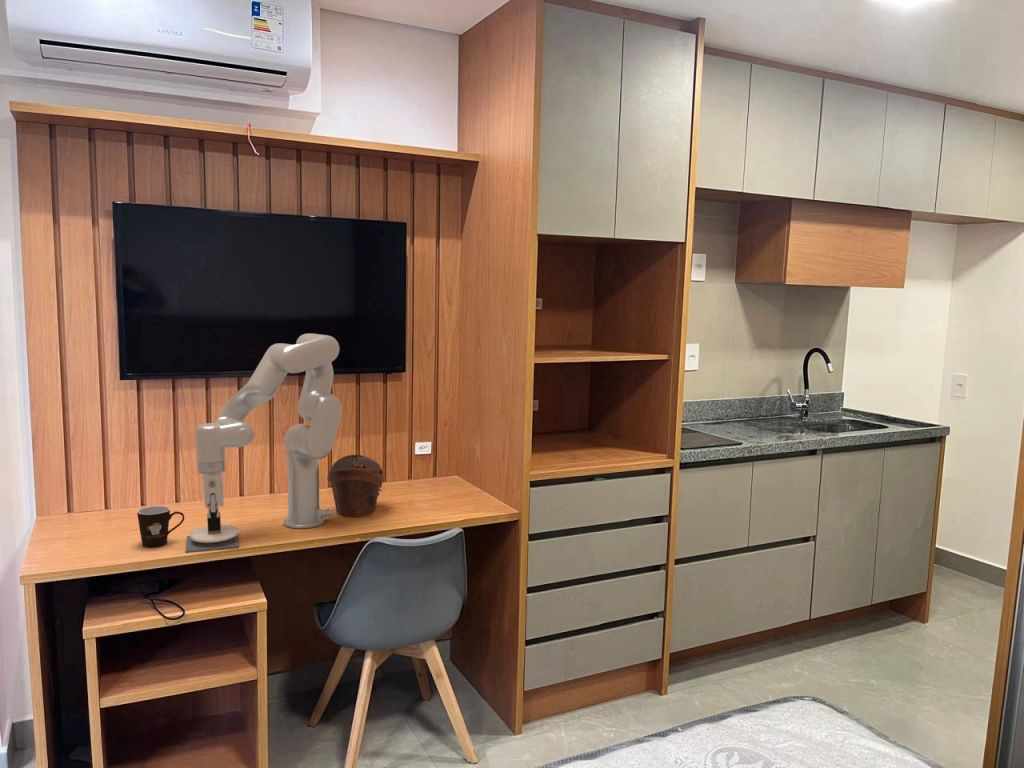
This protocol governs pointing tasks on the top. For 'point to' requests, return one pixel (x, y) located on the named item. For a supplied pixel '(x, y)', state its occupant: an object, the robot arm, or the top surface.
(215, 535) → the lid
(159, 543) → the coffee mug
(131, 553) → the top surface
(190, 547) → the mat
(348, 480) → the brown tapered piece
